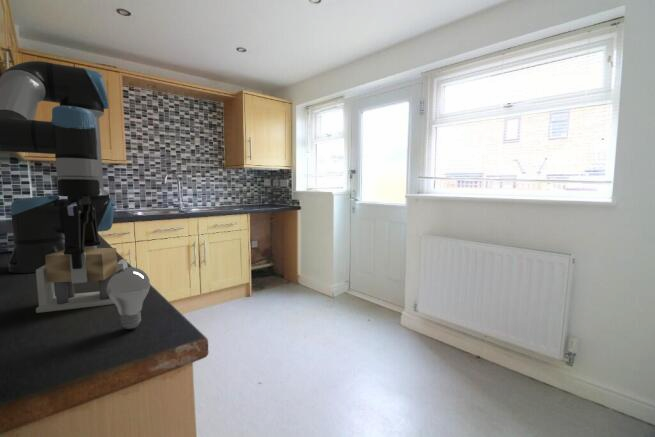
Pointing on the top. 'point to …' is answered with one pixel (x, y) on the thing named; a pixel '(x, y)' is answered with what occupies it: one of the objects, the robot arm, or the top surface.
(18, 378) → the top surface
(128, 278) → the light bulb
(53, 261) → the wooden block
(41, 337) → the top surface
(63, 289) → the peg stand
